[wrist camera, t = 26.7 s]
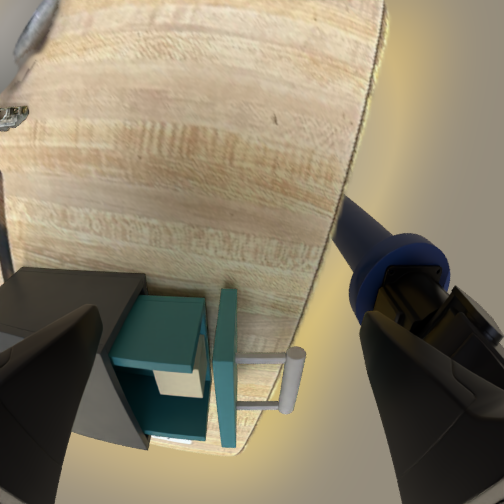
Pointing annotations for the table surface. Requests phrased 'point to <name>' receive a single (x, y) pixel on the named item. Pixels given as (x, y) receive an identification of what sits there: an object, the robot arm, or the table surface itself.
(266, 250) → the table surface
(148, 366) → the teal drawer
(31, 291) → the drawer cabinet
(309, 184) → the table surface
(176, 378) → the block
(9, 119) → the small metal piece
